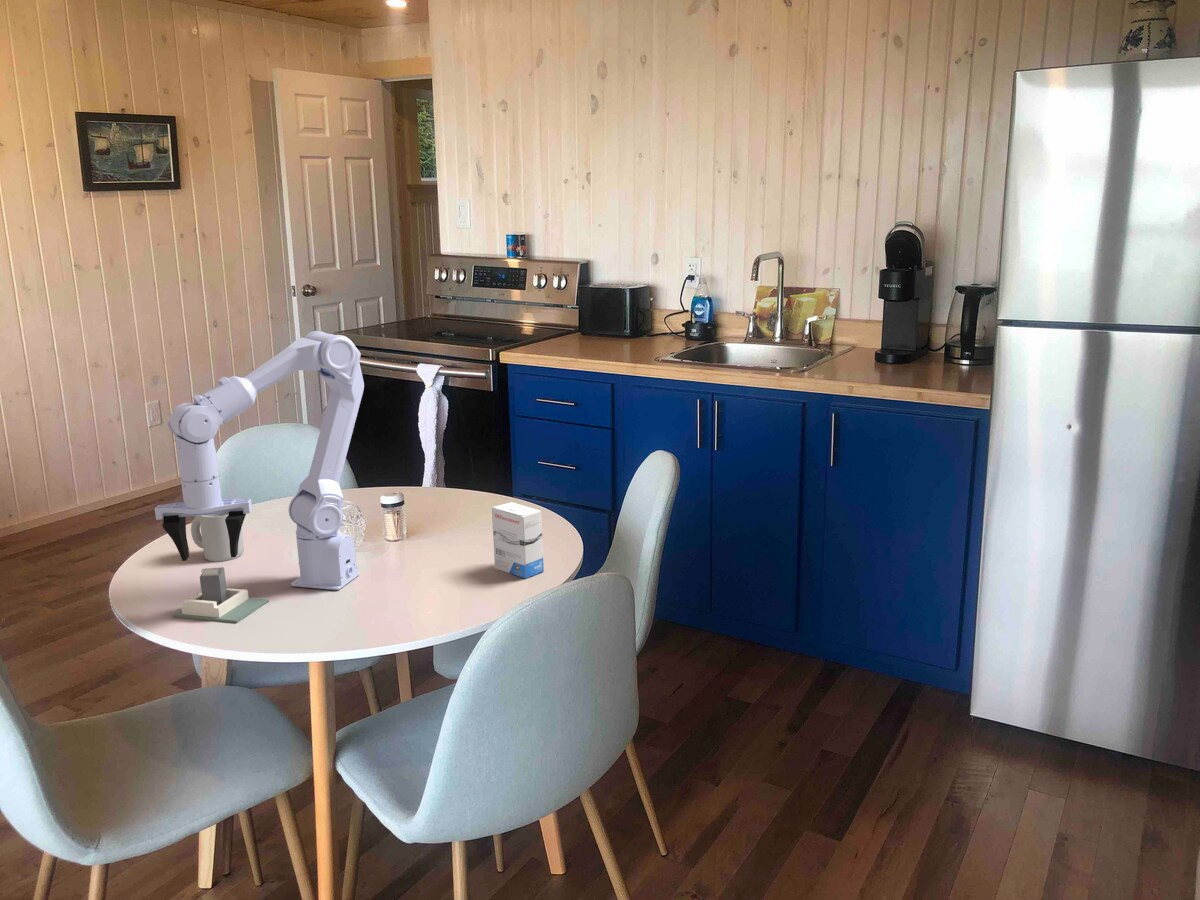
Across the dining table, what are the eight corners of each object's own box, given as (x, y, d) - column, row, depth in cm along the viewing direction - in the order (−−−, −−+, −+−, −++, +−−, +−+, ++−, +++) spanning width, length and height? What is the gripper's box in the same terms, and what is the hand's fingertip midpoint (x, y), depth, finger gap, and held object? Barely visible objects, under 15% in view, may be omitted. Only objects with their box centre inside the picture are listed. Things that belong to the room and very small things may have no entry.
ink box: (545, 571, 175) (543, 509, 172) (525, 579, 172) (522, 516, 169) (513, 561, 181) (511, 500, 178) (493, 568, 177) (490, 506, 174)
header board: (268, 601, 164) (267, 585, 163) (236, 623, 156) (234, 606, 155) (207, 595, 167) (205, 580, 166) (172, 616, 159) (170, 600, 158)
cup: (230, 563, 183) (225, 518, 181) (183, 560, 185) (177, 515, 183) (251, 550, 190) (246, 506, 187) (205, 547, 192) (200, 504, 189)
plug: (228, 600, 164) (223, 561, 162) (222, 610, 160) (218, 570, 158) (209, 602, 163) (204, 563, 162) (203, 611, 159) (198, 571, 158)
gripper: (251, 468, 161) (260, 545, 164) (159, 473, 159) (170, 552, 162) (243, 479, 154) (252, 559, 158) (146, 485, 152) (158, 567, 155)
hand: (210, 557), depth 159 cm, fingers open, 7 cm apart
